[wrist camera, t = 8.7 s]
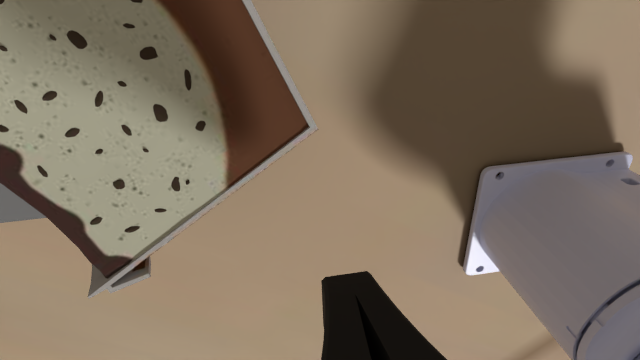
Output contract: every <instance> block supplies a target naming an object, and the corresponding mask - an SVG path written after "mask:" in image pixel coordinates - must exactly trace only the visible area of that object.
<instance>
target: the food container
mask: <svg viewBox="0 0 640 360" xmlns="http://www.w3.org/2000/svg"><path fill="white" fill-rule="evenodd" d="M316 130H318V128H317V126H316V124H315V122H314V120H313V118H312V116H311V115H310V113H309V111H308V109H307V107H306V105H305V103H304V101H303V99H302V97H301V95H300V93H299V92H298V90H297V88H296V86H295V84H294V82H293V80H292V78H291V76H290V74H289V72H288V70H287V69H286V67H285V65H284V63H283V61H282V59H281V57H280V55H279V53H278V51H277V49H276V47H275V46H274V44H273V42H272V40H271V38H270V36H269V34H268V32H267V30H266V28H265V26H264V24H263V23H262V21H261V19H260V17H259V15H258V13H257V11H256V9H255V7H254V5H253V3H252V1H251V0H0V183H1V184H2V185H4V186H5V187H6V188H8V189H9V190H10V191H12V192H13V193H15V194H16V195H17V196H19V197H20V198H21V199H23V200H24V201H25V202H27V203H28V204H29V205H31V206H32V207H33V208H35V209H36V210H37V211H39V212H40V213H42V214H43V215H44V216H46V217H47V218H48V219H49V220H50V221H51V222H52V223H53V224H54V225H55V226H56V227H58V228H59V229H60V230H61V231H62V232H63V233H64V234H65V235H66V236H67V237H68V238H69V239H70V240H71V241H72V242H73V243H74V244H75V245H76V246H77V247H78V248H79V249H80V250H81V251H82V253H83V254H84V255H85V256H86V258H87V259H88V260H89V261H90V262H91V263H92V277H91V285H90V290H89V294H88V298H91V297H93V296H95V295H96V294H98V293H100V292H102V291H104V290H105V289H107V290H108V291H109V292H110V293H112V292H115V291H117V290H120V289H122V288H125V287H127V286H129V285H132V284H134V283H137V282H139V281H141V280H144V279H146V278H149V277H150V270H151V261H150V255H152V254H153V253H154V252H156V251H157V250H158V249H160V248H161V247H162V246H164V245H165V244H166V243H168V242H169V241H170V240H172V239H173V238H174V237H176V236H177V235H178V234H179V233H181V232H182V231H183V230H185V229H186V228H187V227H189V226H190V225H191V224H193V223H194V222H195V221H197V220H198V219H199V218H201V217H202V216H203V215H205V214H206V213H207V212H209V211H210V210H211V209H213V208H214V207H215V206H217V205H218V204H219V203H221V202H222V201H223V200H225V199H226V198H227V197H229V196H230V195H231V194H233V193H234V192H235V191H237V190H238V189H239V188H241V187H242V186H243V185H245V184H246V183H247V182H249V181H250V180H251V179H253V178H254V177H255V176H257V175H258V174H259V173H261V172H262V171H263V170H265V169H266V168H267V167H269V166H270V165H271V164H273V163H274V162H275V161H277V160H278V159H279V158H281V157H282V156H283V155H285V154H286V153H287V152H289V151H290V150H291V149H292V148H294V147H295V146H296V145H298V144H299V143H300V142H302V141H303V140H304V139H306V138H307V137H308V136H310V135H311V134H312V133H314V132H315V131H316Z"/></svg>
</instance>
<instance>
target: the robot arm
mask: <svg viewBox="0 0 640 360" xmlns="http://www.w3.org/2000/svg"><path fill="white" fill-rule="evenodd" d="M632 158H633V157H632V155H631V154H629V153H627V152H624V151H623V152H614V153H605V154H596V155H587V156H578V157H570V158H561V159H552V160H543V161H534V162H525V163H516V164H507V165H498V166H490V167H487V168H485V169H484V170H483V171H482V172H481V175H480V180H479V185H478V191H477V196H476V201H475V207H474V212H473V217H472V223H471V228H470V233H469V239H468V244H467V249H466V255H465V260H464V265H463V270H464V272H465V273H466V274H467V275H477V274H484V273H491V272H498V271H500V272H501V273H502V274H503V275H504V277H505V278H506V279H507V280H508V282H509V283H510V284H511V285H512V287H513V288H514V289H515V290H516V291H517V293H518V294H519V295H520V296H521V298H522V299H523V300H524V301H525V303H526V304H527V305H528V306H529V308H530V309H531V310H532V311H533V312H534V314H535V315H536V316H537V317H538V319H539V320H540V321H541V322H542V324H543V325H544V326H545V327H546V329H547V330H548V331H549V332H550V333H551V335H552V336H553V337H554V338H555V340H556V341H557V342H558V343H559V345H560V346H561V347H562V348H563V349H564V351H565V352H566V353H567V354H568V356H569V357H570V358H571V359H572V360H640V175H638V174H636V173H634V172H632V171H631V170H629V167H630V165H631V162H632ZM499 172H500V174H499V175H498V176H496V175H497V174H498V173H499ZM322 301H323V323H324V342H323V351H322V358H321V360H447V359H446V358H445V357H444V356H443V355H442V354H441V353H440V352H439V351H438V350H437V349H435V348H434V347H433V346H432V345H431V344H430V343H429V342H428V341H427V340H426V339H425V337H424V336H423V335H422V334H421V333H420V332H419V331H418V330H417V329H416V328H415V327H414V326H413V325H412V324H411V323H410V321H409V320H408V319H407V318H406V317H405V316H404V315H403V314H402V313H401V311H400V310H399V309H398V308H397V307H396V306H395V304H394V303H393V302H392V301H391V300H390V298H389V297H388V296H387V295H386V293H385V292H384V291H383V290H382V288H381V287H380V286H379V285H378V283H377V282H376V281H375V279H374V278H373V277H372V275H371V274H370V273H369V272H367V271H365V272H358V273H351V274H344V275H337V276H330V277H325V278H324V279H323V280H322Z"/></svg>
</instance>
